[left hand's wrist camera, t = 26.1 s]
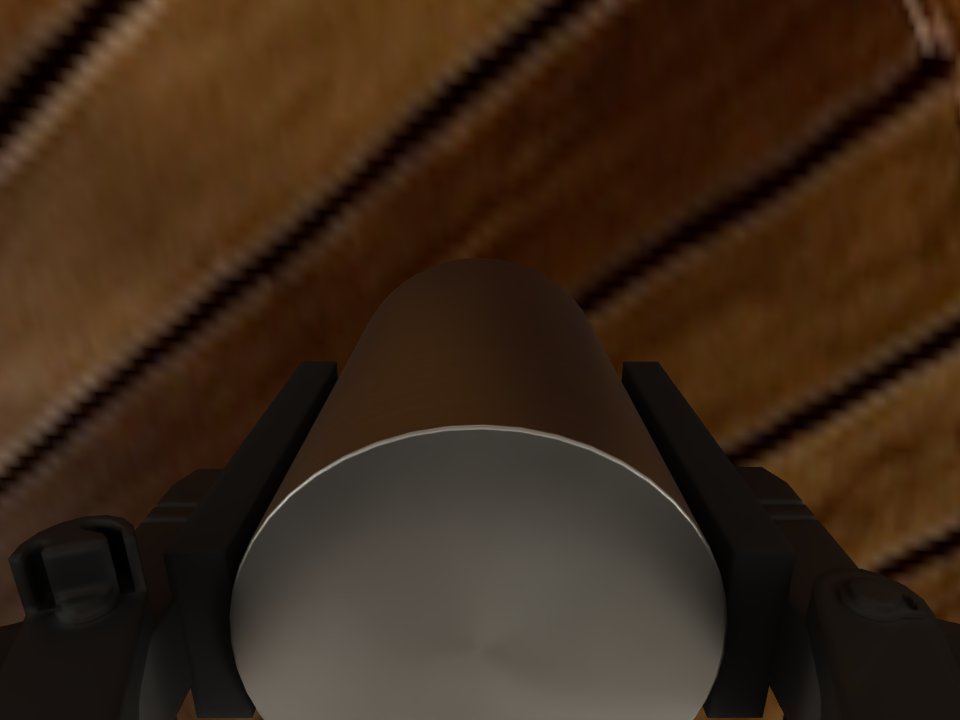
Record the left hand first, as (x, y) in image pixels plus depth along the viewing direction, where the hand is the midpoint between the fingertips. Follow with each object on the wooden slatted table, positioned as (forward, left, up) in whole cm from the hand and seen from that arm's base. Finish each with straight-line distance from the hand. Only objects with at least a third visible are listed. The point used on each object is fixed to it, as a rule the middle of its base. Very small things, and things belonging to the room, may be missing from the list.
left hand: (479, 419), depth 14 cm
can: (0, 0, -2) cm, 2 cm away
